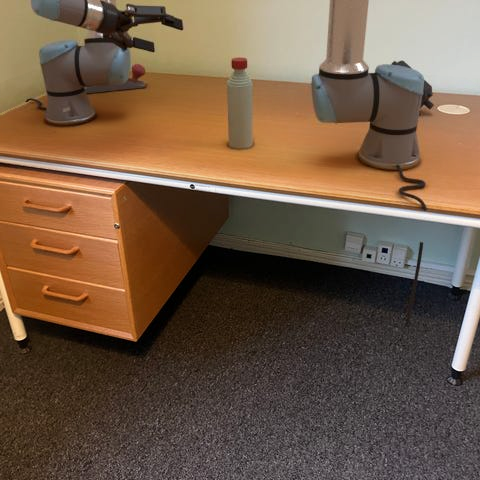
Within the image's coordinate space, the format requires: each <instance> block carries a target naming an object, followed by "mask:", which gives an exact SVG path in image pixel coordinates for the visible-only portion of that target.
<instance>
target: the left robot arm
mask: <svg viewBox="0 0 480 480" xmlns="http://www.w3.org/2000/svg"><path fill="white" fill-rule="evenodd" d="M30 6H31V9H32V12H33V13H34V14H35V15H36V16H39V17H42V18H44V19H47V20H50V21H52V22H58V23H62V24H66V25H70V26H73V27H78V28H81V29H85V30H88V33H87V34H86V35H85V37H83V41H84V45H79V43H78V42H77V40H75V39H65V40H59V41H55V42H50V43H47V44H45V45H43V46H42V47H40V48H39V50H38V57H39V65H40V69H41V73H42V77H43V78H42V79H43V83H44V86H45V91H46V107H45V106H42V101H40V100H38V99H36V98H31V97H30V98H27V99H26V100H25V103H28V102H31V101H33V102H36V103H38V104H37V108H38V109H39V110H45V120H46V123H48V124H49V125H53V126H57V127H67V126H68V127H69V126H77V125H82V124H85V123H88V122H91V121H92V120H94V118H95V117H96V110H95V107H94V105H92V103H91V101H90V99H89V96H88V93H86V92H85V86H113V85H123V84H125V83H126V82H127V80H128V78H130V74H131V68H132V66H131V65H132V55H131V49H138V50H142V51H145V52H150V53H155V52H156V50H155V49H156V48H155V42H153V41H150V40H146V39H143V38H139V37H136V36H134V37H132V36H131V35H130V34H129V32H128V31H129V30H130V29H132V28H136V27H138V26H139V25H146V24H155V23H161V25H163V26H167V27H169V28H173V29H175V30H178V31H181V32H182V31H183V30H184V23H183V19H181V18H178V17H175V15H171V14H169V13H167V10H166V6H164V5H140V4H139V5H138V4H137V5H136V4H131V3H126V4H125V10H120V9H118V7H117V0H30Z"/></svg>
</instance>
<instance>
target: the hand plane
mask: <svg viewBox="0 0 480 480" xmlns="http://www.w3.org/2000/svg"><path fill="white" fill-rule="evenodd" d="M131 73H132V76H131V78H130V77H128V80H127V82H126V83H125V84H123V85H113V86H85V92H86V94H94V93H104V92H112V91H113V92H114V91H121V90H132V89H142V88H146V83H145V81H143V80H139V78H142V77H144V76H145V75H146V68H145V66H143V65H141V64H139V63H134V64H133V65H132V66H131Z"/></svg>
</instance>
